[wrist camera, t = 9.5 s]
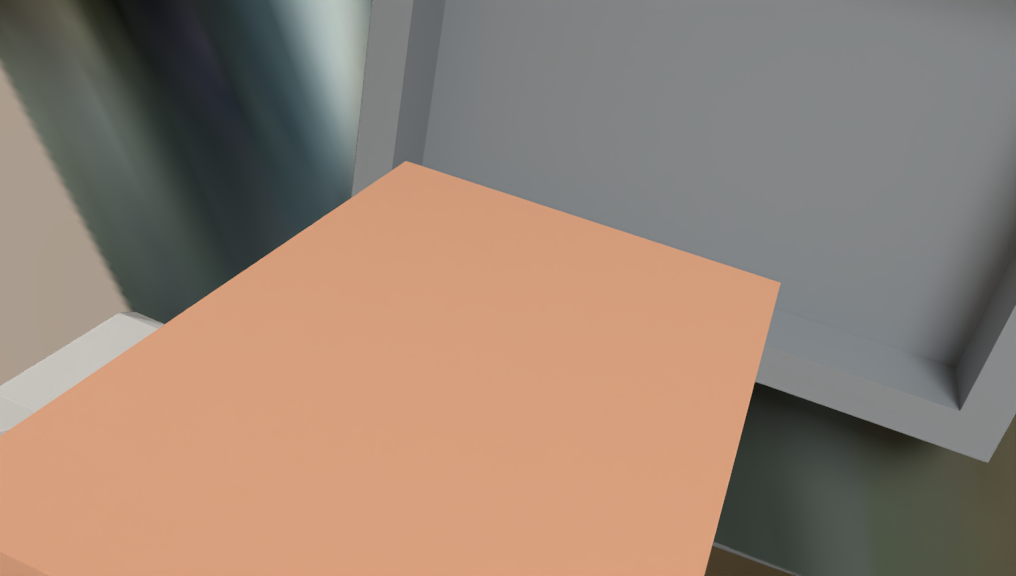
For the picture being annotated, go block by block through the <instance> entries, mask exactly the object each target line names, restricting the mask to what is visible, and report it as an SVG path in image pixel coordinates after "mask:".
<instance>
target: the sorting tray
mask: <svg viewBox="0 0 1016 576" xmlns="http://www.w3.org/2000/svg"><path fill="white" fill-rule="evenodd" d="M405 161H408V162H411V163H414V164H417V165H420V166H423V167H426V168H429V169H433V170H436V171H439V172H442V173H445V174H448V175H451V176H454V177H457V178H460V179H463V180H466V181H469V182H472V183H476V184H479V185H482V186H485V187H488V188H491V189H494V190H497V191H500V192H503V193H506V194H509V195H512V196H516V197H519V198H522V199H525V200H528V201H531V202H534V203H537V204H540V205H543V206H546V207H549V208H552V209H555V210H559V211H562V212H565V213H568V214H571V215H574V216H577V217H580V218H583V219H586V220H589V221H592V222H595V223H599V224H602V225H605V226H608V227H611V228H614V229H617V230H620V231H623V232H626V233H629V234H632V235H635V236H639V237H642V238H645V239H648V240H651V241H654V242H657V243H660V244H663V245H666V246H669V247H672V248H675V249H678V250H682V251H685V252H688V253H691V254H694V255H697V256H700V257H703V258H706V259H709V260H712V261H715V262H718V263H722V264H725V265H728V266H731V267H734V268H737V269H740V270H743V271H746V272H749V273H752V274H755V275H758V276H761V277H765V278H768V279H771V280H774V281H777V282H780V283H781V284H780V288H779V291H778V295H777V299H776V303H775V307H774V310H773V314H772V318H771V322H770V326H769V330H768V333H767V337H766V341H765V345H764V349H763V353H762V356H761V360H760V364H759V368H758V372H757V376H756V379H755V382H758V383H761V384H764V385H766V386H769V387H772V388H775V389H778V390H781V391H784V392H786V393H789V394H792V395H795V396H798V397H801V398H804V399H807V400H809V401H812V402H815V403H818V404H821V405H824V406H827V407H829V408H832V409H835V410H838V411H841V412H844V413H847V414H849V415H852V416H855V417H858V418H861V419H864V420H867V421H870V422H872V423H875V424H878V425H881V426H884V427H887V428H890V429H892V430H895V431H898V432H901V433H904V434H907V435H910V436H912V437H915V438H918V439H921V440H924V441H927V442H930V443H933V444H935V445H938V446H941V447H944V448H947V449H950V450H953V451H955V452H958V453H961V454H964V455H967V456H970V457H973V458H976V459H978V460H981V461H984V462H987V463H988V462H989V460H990V458H991V456H992V455H993V453H994V451H995V449H996V447H997V446H998V444H999V442H1000V440H1001V439H1002V437H1003V435H1004V433H1005V431H1006V430H1007V428H1008V426H1009V424H1010V422H1011V421H1012V419H1013V417H1014V415H1015V414H1016V0H372V6H371V16H370V25H369V35H368V44H367V54H366V63H365V73H364V82H363V92H362V101H361V111H360V120H359V130H358V139H357V149H356V158H355V168H354V177H353V187H352V196H351V198H352V197H353V196H355V195H356V194H358V193H359V192H361V191H362V190H364V189H365V188H367V187H368V186H370V185H371V184H373V183H374V182H376V181H377V180H379V179H380V178H381V177H383V176H384V175H386V174H387V173H389V172H390V171H392V170H393V169H395V168H396V167H398V166H399V165H401V164H402V163H404V162H405Z"/></svg>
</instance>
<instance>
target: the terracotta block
mask: <svg viewBox="0 0 1016 576" xmlns="http://www.w3.org/2000/svg"><path fill="white" fill-rule="evenodd" d="M780 284H781V283H780V282H777V281H774V280H771V279H768V278H765V277H761V276H758V275H755V274H752V273H749V272H746V271H743V270H740V269H737V268H734V267H731V266H728V265H725V264H722V263H718V262H715V261H712V260H709V259H706V258H703V257H700V256H697V255H694V254H691V253H688V252H685V251H682V250H678V249H675V248H672V247H669V246H666V245H663V244H660V243H657V242H654V241H651V240H648V239H645V238H642V237H639V236H635V235H632V234H629V233H626V232H623V231H620V230H617V229H614V228H611V227H608V226H605V225H602V224H599V223H595V222H592V221H589V220H586V219H583V218H580V217H577V216H574V215H571V214H568V213H565V212H562V211H559V210H555V209H552V208H549V207H546V206H543V205H540V204H537V203H534V202H531V201H528V200H525V199H522V198H519V197H516V196H512V195H509V194H506V193H503V192H500V191H497V190H494V189H491V188H488V187H485V186H482V185H479V184H476V183H472V182H469V181H466V180H463V179H460V178H457V177H454V176H451V175H448V174H445V173H442V172H439V171H436V170H433V169H429V168H426V167H423V166H420V165H417V164H414V163H411V162H408V161H405V162H404V163H402V164H401V165H399V166H398V167H396V168H395V169H393V170H392V171H390V172H389V173H387V174H386V175H384V176H383V177H381V178H380V179H379V180H377V181H376V182H374V183H373V184H371V185H370V186H368V187H367V188H365V189H364V190H362V191H361V192H359V193H358V194H356V195H355V196H353V197H352V198H351V199H349V200H348V201H346V202H345V203H343V204H342V205H340V206H339V207H337V208H336V209H334V210H333V211H331V212H330V213H328V214H327V215H325V216H324V217H322V218H321V219H320V220H318V221H317V222H315V223H314V224H312V225H311V226H309V227H308V228H306V229H305V230H303V231H302V232H300V233H299V234H297V235H296V236H294V237H293V238H292V239H290V240H289V241H287V242H286V243H284V244H283V245H281V246H280V247H278V248H277V249H275V250H274V251H272V252H271V253H269V254H268V255H266V256H265V257H263V258H262V259H261V260H259V261H258V262H256V263H255V264H253V265H252V266H250V267H249V268H247V269H246V270H244V271H243V272H241V273H240V274H238V275H237V276H235V277H234V278H233V279H231V280H230V281H228V282H227V283H225V284H224V285H222V286H221V287H219V288H218V289H216V290H215V291H213V292H212V293H210V294H209V295H207V296H206V297H204V298H203V299H202V300H200V301H199V302H197V303H196V304H194V305H193V306H191V307H190V308H188V309H187V310H185V311H184V312H182V313H181V314H179V315H178V316H176V317H175V318H174V319H172V320H171V321H169V322H168V323H166V324H165V325H163V326H162V327H160V328H159V329H157V330H156V331H154V332H153V333H151V334H150V335H148V336H147V337H145V338H144V339H143V340H141V341H140V342H138V343H137V344H135V345H134V346H132V347H131V348H129V349H128V350H126V351H125V352H123V353H122V354H120V355H119V356H117V357H116V358H115V359H113V360H112V361H110V362H109V363H107V364H106V365H104V366H103V367H101V368H100V369H98V370H97V371H95V372H94V373H92V374H91V375H89V376H88V377H86V378H85V379H84V380H82V381H81V382H79V383H78V384H76V385H75V386H73V387H72V388H70V389H69V390H67V391H66V392H64V393H63V394H61V395H60V396H58V397H57V398H56V399H54V400H53V401H51V402H50V403H48V404H47V405H45V406H44V407H42V408H41V409H39V410H38V411H36V412H35V413H33V414H32V415H30V416H29V417H27V418H26V419H25V420H23V421H22V422H20V423H19V424H17V425H16V426H14V427H13V428H11V429H10V430H8V431H7V432H5V433H4V434H2V435H1V436H0V576H704V575H705V571H706V567H707V563H708V559H709V556H710V552H711V548H712V544H713V540H714V536H715V533H716V529H717V525H718V521H719V517H720V513H721V510H722V506H723V502H724V498H725V494H726V490H727V487H728V483H729V479H730V475H731V471H732V467H733V464H734V460H735V456H736V452H737V448H738V444H739V441H740V437H741V433H742V429H743V425H744V422H745V418H746V414H747V410H748V406H749V402H750V399H751V395H752V391H753V387H754V383H755V379H756V376H757V372H758V368H759V364H760V360H761V356H762V353H763V349H764V345H765V341H766V337H767V333H768V330H769V326H770V322H771V318H772V314H773V310H774V307H775V303H776V299H777V295H778V291H779V288H780Z"/></svg>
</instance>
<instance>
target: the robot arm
mask: <svg viewBox="0 0 1016 576" xmlns="http://www.w3.org/2000/svg"><path fill="white" fill-rule="evenodd" d="M163 325H165V324H163V323H161V322H158V321H156V320H153V319H151V318H149V317H146V316H144V315H141V314H139V313H137V312H127V313H118V314H116V315H115V316H113V317H111V318H110V319H108V320H107V321H105V322H103V323H102V324H100V325H98V326H97V327H95V328H94V329H92V330H90V331H89V332H87V333H86V334H84V335H82V336H80V337H79V338H77V339H76V340H74V341H72V342H71V343H69V344H67V345H66V346H64V347H63V348H61V349H59V350H58V351H56V352H55V353H53V354H51V355H50V356H48V357H46V358H45V359H43V360H42V361H40V362H38V363H37V364H35V365H33V366H32V367H30V368H29V369H27V370H25V371H24V372H22V373H21V374H19V375H17V376H16V377H14V378H13V379H11V380H9V381H7V382H6V383H4V384H3V385H1V386H0V436H1V435H2V434H4V433H5V432H7V431H8V430H10V429H11V428H13V427H14V426H16V425H17V424H19V423H20V422H22V421H23V420H25V419H26V418H27V417H29V416H30V415H32V414H33V413H35V412H36V411H38V410H39V409H41V408H42V407H44V406H45V405H47V404H48V403H50V402H51V401H53V400H54V399H56V398H57V397H58V396H60V395H61V394H63V393H64V392H66V391H67V390H69V389H70V388H72V387H73V386H75V385H76V384H78V383H79V382H81V381H82V380H84V379H85V378H86V377H88V376H89V375H91V374H92V373H94V372H95V371H97V370H98V369H100V368H101V367H103V366H104V365H106V364H107V363H109V362H110V361H112V360H113V359H115V358H116V357H117V356H119V355H120V354H122V353H123V352H125V351H126V350H128V349H129V348H131V347H132V346H134V345H135V344H137V343H138V342H140V341H141V340H143V339H144V338H145V337H147V336H148V335H150V334H151V333H153V332H154V331H156V330H157V329H159V328H160V327H162V326H163ZM704 576H802V575H800V574H797V573H794V572H792V571H789V570H787V569H784V568H781V567H779V566H776V565H774V564H771V563H768V562H766V561H763V560H761V559H758V558H755V557H753V556H750V555H748V554H745V553H742V552H740V551H737V550H735V549H732V548H729V547H727V546H724V545H722V544H719V543H716V542H714V541H713V544H712V548H711V552H710V556H709V559H708V563H707V567H706V571H705V575H704Z"/></svg>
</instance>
